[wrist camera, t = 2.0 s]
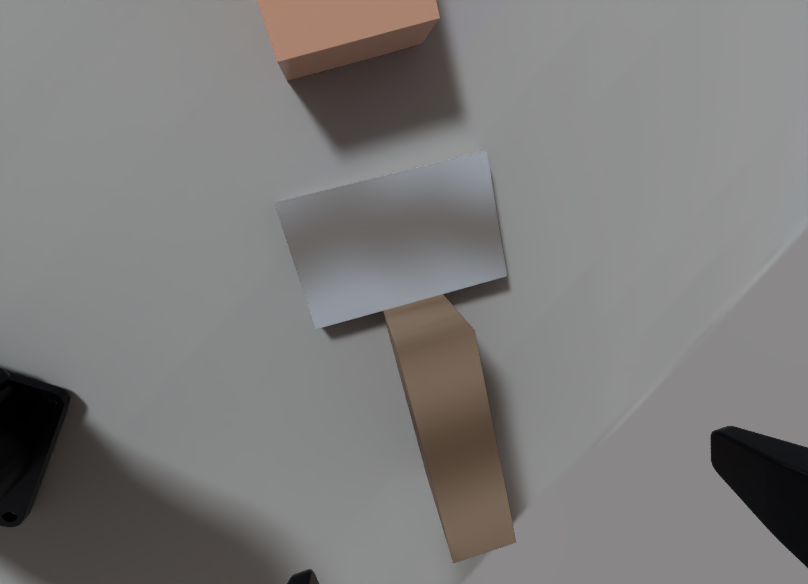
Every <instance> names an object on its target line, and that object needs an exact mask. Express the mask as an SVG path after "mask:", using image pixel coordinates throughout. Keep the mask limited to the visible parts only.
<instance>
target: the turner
mask: <svg viewBox="0 0 808 584" xmlns="http://www.w3.org/2000/svg"><path fill="white" fill-rule="evenodd" d="M275 206H276V209H277V212H278V215H279V218H280V221H281V224H282V227H283V230H284V233H285V237H286V240H287V243H288V246H289V249H290V252H291V255H292V258H293V261H294V264H295V267H296V270H297V273H298V276H299V279H300V283H301V286H302V289H303V292H304V295H305V298H306V301H307V304H308V307H309V310H310V313H311V316H312V319H313V322H314V325H315V328H316V329H319V328H323V327H326V326H330V325H333V324H337V323H341V322H344V321H348V320H351V319H355V318H359V317H362V316H366V315H369V314H373V313H377V312H380V311H383V314H384V318H385V321H386V325H387V329H388V332H389V336H390V340H391V344H392V347H393V351H394V355H395V359H396V362H397V366H398V370H399V374H400V377H401V381H402V385H403V389H404V392H405V396H406V400H407V404H408V407H409V411H410V415H411V418H412V422H413V426H414V430H415V433H416V437H417V441H418V445H419V448H420V452H421V456H422V460H423V463H424V467H425V471H426V474H427V478H428V481H429V484H430V487H431V491H432V494H433V497H434V501H435V504H436V507H437V511H438V514H439V517H440V520H441V524H442V527H443V530H444V534H445V537H446V540H447V543H448V547H449V550H450V553H451V557H452V560H453V563H456V562H459V561H462V560H465V559H468V558H471V557H474V556H477V555H480V554H483V553H486V552H489V551H492V550H495V549H498V548H501V547H504V546H507V545H509V544H513V543H515V542H516V539H515V534H514V529H513V524H512V519H511V513H510V508H509V503H508V498H507V493H506V488H505V483H504V478H503V473H502V468H501V463H500V457H499V452H498V447H497V442H496V437H495V432H494V427H493V422H492V417H491V412H490V407H489V401H488V396H487V391H486V386H485V381H484V376H483V371H482V366H481V361H480V356H479V351H478V346H477V340H476V335H475V330H474V329H473V328H472V327H471V325H470V324H469V323H468V322H467V321H466V320H465V319H464V317H463V316H462V315H461V314H460V313H459V312H458V311H457V309H456V308H455V307H454V306H453V305H452V304H451V303H450V301H449V300H448V299H447V298H446V297H445V296H444V295H443V294H445V293H448V292H452V291H456V290H459V289H463V288H466V287H470V286H474V285H477V284H481V283H484V282H488V281H492V280H495V279H499V278H502V277H506V276H507V273H506V266H505V260H504V254H503V248H502V242H501V236H500V230H499V223H498V217H497V211H496V205H495V199H494V193H493V187H492V180H491V174H490V168H489V162H488V156H487V151H479V152H475V153H471V154H467V155H463V156H459V157H455V158H451V159H447V160H443V161H439V162H435V163H431V164H427V165H423V166H419V167H415V168H411V169H407V170H403V171H399V172H395V173H391V174H387V175H383V176H379V177H375V178H371V179H367V180H363V181H359V182H355V183H351V184H347V185H343V186H339V187H335V188H331V189H327V190H323V191H319V192H315V193H311V194H307V195H303V196H299V197H295V198H291V199H287V200H283V201H279V202H277V203H275Z"/></svg>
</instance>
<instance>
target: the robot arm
mask: <svg viewBox="0 0 808 584" xmlns="http://www.w3.org/2000/svg"><path fill="white" fill-rule="evenodd" d="M48 398H52V399H54V400H55V401H56V403H57V404H53V403H51V402H50V401H49V399H48ZM69 403H70V396H69V394H68V393H67V392H66V391H65V390H64V389H61V388H59V387H56V386H53V385H49V384H46V383H43V382H39V381H36V380H33V379H29V378H26V377H23V376H19V375H16V374H13V373H9V372H6V371H5V370H2V369H0V525H1V526H5V527H15V526H18V525H20V524H21V523H22V522H23V521H24V520H25V519H26V517H27V516H28V515H29V513H30V512H31V509H32V506H33V503H34V500H35V498H36V495H37V492H38V489H39V487H40V484H41V481H42V478H43V475H44V473H45V470H46V467H47V464H48V462H49V459H50V456H51V453H52V450H53V448H54V445H55V442H56V439H57V437H58V434H59V431H60V428H61V425H62V423H63V420H64V417H65V414H66V412H67V409H68V406H69ZM711 462H712V465H713V467H714V469H715V470H716V472H717V473H718V474H719V475H720V476H721V477H722V479H723V480H725V482H726V483H727V484H728V485H729V486H730V487H731V489H732V490H733V491H734V492H735V493H736V494H737V495H738V496H739V497H740V499H742V501H743V502H744V503H745V504H746V505H747V506H748V507H749V508H750V510H751V511H752V512H753V513H754V514H755V515H756V516H757V517H758V519H759V520H760V521H761V522H762V523H763V524H764V525H765V526H766V527H767V528H768V529H769V530H770V532H772V534H773V535H774V536H775V537H776V538H777V539H778V540H779V541H780V542H781V543H782V544H783V545H784V546H785V547H786V548H787V549H788V550H789V551H791V552H792V553H793V554H794V555H795V556H796V557H797V558H798V559H799V560H800V561H801V562H802V563H803V564H804V565H805V566H806V567H807V568H808V448H807V447H804V446H800V445H797V444H793V443H790V442H787V441H783V440H780V439H776V438H772V437H769V436H765V435H762V434H758V433H755V432H752V431H748V430H745V429H741V428H738V427H734V426H727V427H723V428H720V429H718V430H715V431H713V432H712V434H711ZM11 512H12V513H11ZM13 513H15V514H13ZM287 584H319V582H318V580H317V578H316V575H315V573H314V572H313V571H312V570H311V569H308V570H305V571H302V572H299V573H296V574H294V575H293V576H292V577H291V578H290V579H289V581H288V583H287Z"/></svg>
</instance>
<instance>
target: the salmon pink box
mask: <svg viewBox="0 0 808 584" xmlns="http://www.w3.org/2000/svg"><path fill="white" fill-rule="evenodd" d="M257 2H258V5H259V8H260V11H261V14H262V17H263V20H264V23H265V26H266V29H267V32H268V35H269V38H270V41H271V44H272V47H273V50H274V54H275V57H276V60H277V62H278V64H279V66H280V68H281V70H282V72H283V74H284V76H285V78H286V80H287V81H289V80H293V79H296V78H300V77H304V76H307V75H311V74H315V73H318V72H322V71H326V70H329V69H333V68H337V67H340V66H344V65H348V64H351V63H355V62H359V61H362V60H366V59H370V58H373V57H377V56H380V55H384V54H388V53H391V52H395V51H399V50H402V49H406V48H410V47H413V46H417V45H421V44H422V43H423V41H424V40H425V39H426V37H427V36H428V34H429V33H430V31H431V30H432V29H433V27H434V26H435V24H436V23H437V21H438V20H439V19H440V16H439V11H438V7H437V2H436V0H257Z"/></svg>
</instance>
